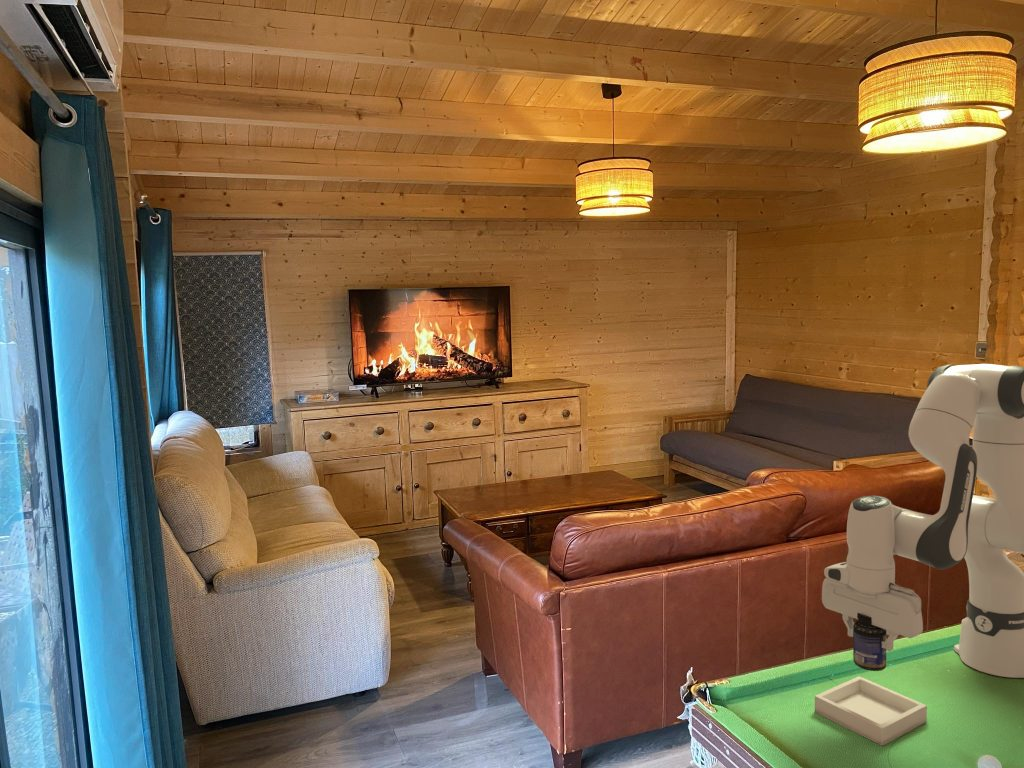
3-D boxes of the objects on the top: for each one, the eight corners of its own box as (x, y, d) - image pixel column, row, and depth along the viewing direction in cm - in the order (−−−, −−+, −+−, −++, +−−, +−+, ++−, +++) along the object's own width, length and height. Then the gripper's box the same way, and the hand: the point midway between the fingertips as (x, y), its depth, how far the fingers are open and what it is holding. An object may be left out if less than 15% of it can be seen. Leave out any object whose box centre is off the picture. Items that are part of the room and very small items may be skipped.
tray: (859, 691, 162) (859, 676, 161) (926, 722, 149) (926, 705, 149) (814, 711, 154) (814, 695, 154) (882, 745, 141) (882, 728, 141)
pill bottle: (890, 673, 147) (890, 619, 146) (857, 671, 148) (857, 618, 147) (881, 658, 153) (881, 607, 152) (849, 657, 154) (849, 606, 153)
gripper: (930, 588, 142) (929, 657, 143) (836, 561, 159) (836, 622, 160) (911, 595, 138) (910, 666, 140) (817, 566, 156) (817, 629, 157)
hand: (869, 642), depth 150 cm, fingers closed on pill bottle, 6 cm apart
